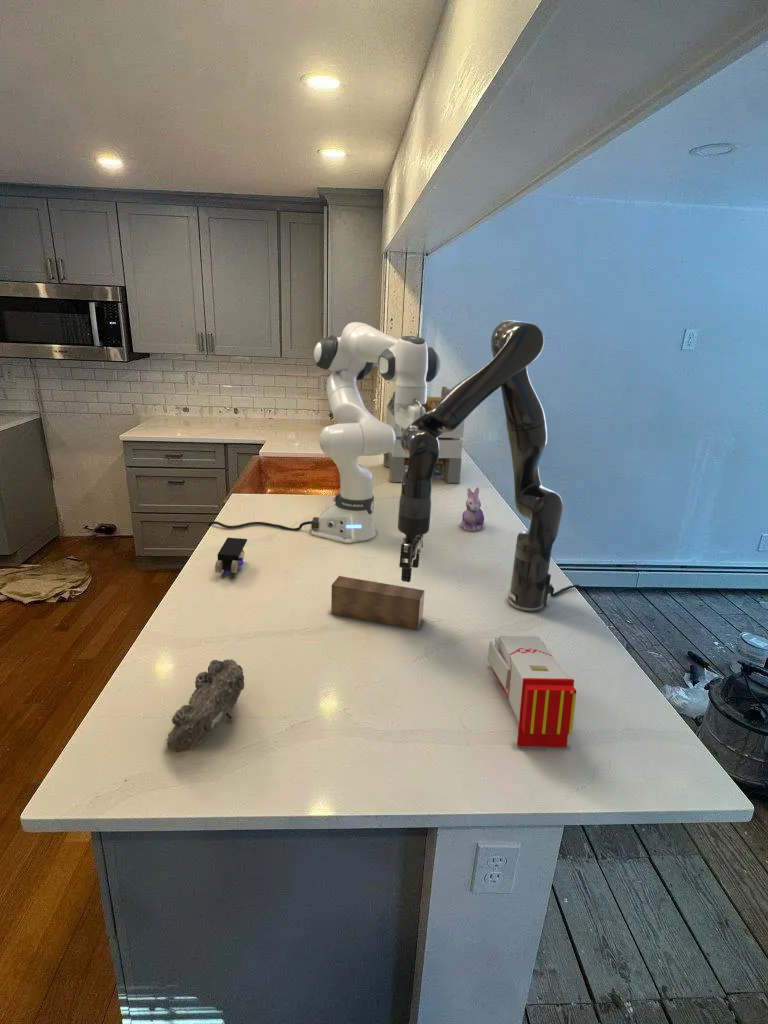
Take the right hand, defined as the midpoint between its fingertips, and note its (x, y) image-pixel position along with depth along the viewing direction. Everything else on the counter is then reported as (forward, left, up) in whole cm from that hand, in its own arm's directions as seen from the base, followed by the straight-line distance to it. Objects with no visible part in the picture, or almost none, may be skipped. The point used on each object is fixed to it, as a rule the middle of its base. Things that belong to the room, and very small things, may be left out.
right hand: (410, 573), depth 139 cm
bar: (+6, -5, -14) cm, 16 cm away
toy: (-11, +35, -14) cm, 39 cm away
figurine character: (+39, -42, -14) cm, 59 cm away
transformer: (-58, -127, -14) cm, 140 cm away
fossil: (+49, +22, -14) cm, 56 cm away
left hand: (-12, -33, +24) cm, 43 cm away
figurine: (-49, -55, -14) cm, 75 cm away
